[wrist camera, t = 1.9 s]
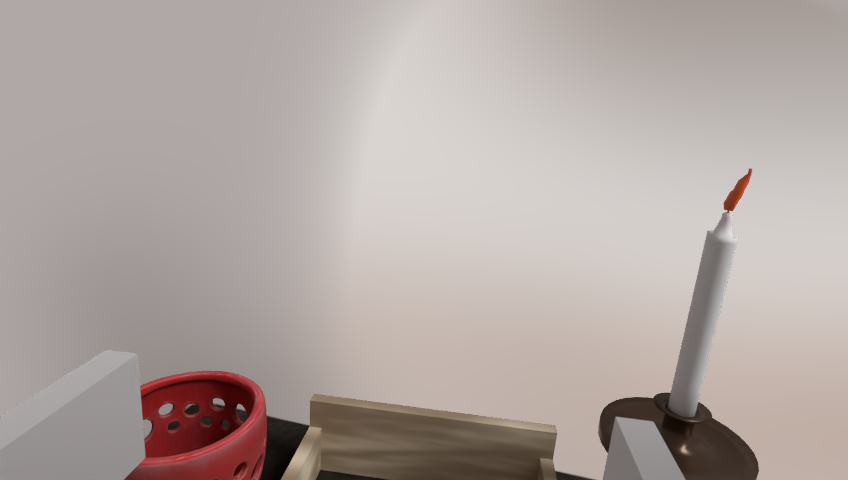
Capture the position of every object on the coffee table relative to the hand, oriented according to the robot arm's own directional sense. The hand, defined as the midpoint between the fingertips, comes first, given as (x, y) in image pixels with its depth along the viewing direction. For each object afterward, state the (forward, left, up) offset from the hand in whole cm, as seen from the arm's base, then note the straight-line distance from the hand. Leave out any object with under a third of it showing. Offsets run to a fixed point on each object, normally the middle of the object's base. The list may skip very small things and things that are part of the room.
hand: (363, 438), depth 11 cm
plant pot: (+25, +20, -30) cm, 44 cm away
